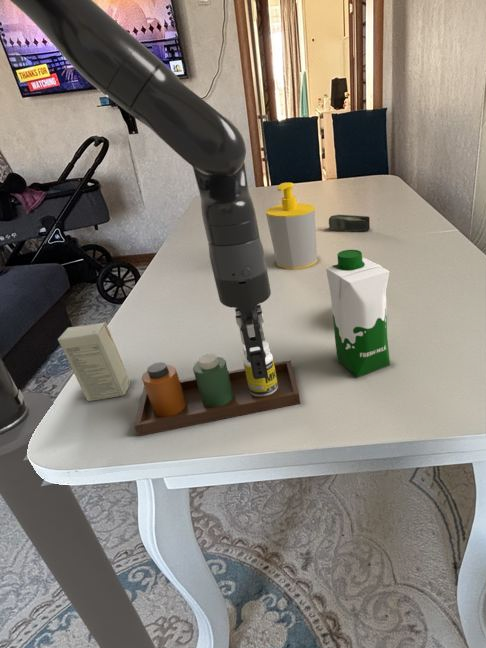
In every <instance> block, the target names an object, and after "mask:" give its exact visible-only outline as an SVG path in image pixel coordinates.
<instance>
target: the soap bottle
mask: <svg viewBox="0 0 486 648" xmlns="http://www.w3.org/2000/svg"><path fill="white" fill-rule="evenodd" d="M294 186H295V184H294V183H293V182H282V183H279V185H278V187H277V191H279V192H281V191H282V192H283V197H281V198H280V200H281V204H278V205H274V206H271V207H269V208H267V209H266V210H265V217H266V220H267V221H266V222H267V225H268V230H269V234H270V240H271V244H272V248H273V252H274V258H275V262H276V266H278V267H279V268H281V269H286V270H298V269H304V268H308V267H311V266H312V265H315V264H316V263H317V262H318V249H317V231H316V213H315V211H316V209H315V205H312V204H311V203H305V202H297V196H294V194H293V188H292V187H294Z"/></svg>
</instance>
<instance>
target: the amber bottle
mask: <svg viewBox="0 0 486 648" xmlns="http://www.w3.org/2000/svg"><path fill="white" fill-rule="evenodd" d="M180 380H181V379H180V378H179V374H178V371H177V368H176V367H175V366H173V365H170V364H167V363H166V362H155V363H152V364H151V365H148V367H147V369H146V371H145V372H144V373H143V374H142V376H141V381H142V384H143V387H145V389H146V392H147V394H148V397H149V400H150V403H151V406H152V408H153V411H154V413H155V415H157V416H159V417H168V416H173V415H175V414H178V413H179V412H181V411H182V410H183V409H184V408H185V407H186V400H185V396H184V393H183V390H182V387H181V383H180Z"/></svg>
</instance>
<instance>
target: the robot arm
mask: <svg viewBox="0 0 486 648" xmlns="http://www.w3.org/2000/svg"><path fill="white" fill-rule="evenodd" d="M9 1H10V2H11V3H12V4H14V6H16V7H17V8H18V9H19V10H20V11H22V12H23V13H24V14H25V15H26V16H27V17H28V18H29V19H30V20H31V22H33V24H35V25H36V27H37V28H38V29H39V30H40V31H41V32H42V33H43V34H44V35H45V36H46V38H47V39H48V40H49V42H51V43H52V44H53V46H54V47H55V48H56V49H57V50H58V52H59V53H60V54H61V55H62V57H64V58H65V60H66V61H67V62H68V63H69V65H71V66H72V67H73V69H75V70H76V71H77V72H78V73H79V74H80V75H81V76H82V77H83V78H84V79H85V80H86V81H87V82H89V83H90V84H91V85H92V86H93V87H94V88H96V89H97V90H98V91H99V92H101V94H103V95H105V97H107V98H108V99H110V101H112V102H114V103H115V104H116V105H118V106H119V107H120V108H121V109H122V110H124V111H125V112H126V113H128V114H129V115H130V116H132V117H133V118H134V119H136V120H138V121H139V122H141V123H142V124H143V125H145V126H146V127H148V129H150V130H151V131H152V132H154V133H155V135H156V136H158V138H160V139H161V140H162V141H163V142H164V143H165V144H166V145H167V146H169V148H170V149H172V150H173V151H174V152H175V153H176V154H177V155H178V156H180V157H181V159H183V160H184V161H185V162H187V163H188V164H189V165H190V166H191V167H192V170H193V175H194V177H195V178H194V179H195V181H196V185H197V188H198V191H199V196H200V209H201V217H202V221H203V226H204V231H205V234H206V240H207V245H208V253H209V259H210V264H211V269H212V273H213V277H214V282H215V287H216V290H217V295H218V300H219V302H220V304H222V305H223V306H225V307H228V308H231V309H232V308H234V311H235V314H234V315H235V323H236V325H237V327H238V329H239V335H240V341H241V343H242V345H243V346H244V345H245V348H246V352H247V360H248V362H250V364H251V368H252V373H253V378H254V379H261V378H266V377H267V376H268V372H267V367H266V362H265V357H266V353H265V351H264V348H263V342H264V341H266V335H265V330H264V329H265V328H264V325H263V324H264V323H265V322H264V321H265V320H264V315H263V310H262V304H263V303H265V302H266V301H267V300H268V299H269V298H270V297H271V293H272V290H271V283H270V279H269V273H268V267H267V262H266V255H265V251H264V246H263V242H262V240H261V236H260V231H259V225H258V220H257V215H256V209H255V205H254V202H253V200H252V196H251V194H250V191H249V185H248V178H247V170H246V164H245V160H246V154H247V147H246V143H245V138H244V137H243V134H242V133H241V131H240V130H239V128H238V127H237V125H235V124H234V122H233V121H232V120H230V119H229V118H228V117H226V116H224V115H223V114H221V113H220V112H219V111H218V110H216V109H215V108H214V107H212V106H211V105H210V104H209V103H208V102H207V101H205V100H204V99H203V98H202V97H200V96H199V95H198V94H197V93H196V92H194V90H192V89H190V88H189V87H188V86H186V85H185V83H183V81H182V80H181V79H180V78H179V76H178V75H177V74H176V73H175V72H174V71H173V70H172V69H171V68H170V67H169V66H168V65H166V63H164V62H163V61H162V60H161V59H160V58H159V57H158V56H157V55H156V54H154V53H153V52H152V51H151V50H150V49H148V47H146V46H145V45H144V44H143V43H142V42H141V41H140V40H138V39H137V38H135V37H134V36H133V34H131V33H130V32H129V31H128V30H126V29H125V28H124V27H123V26H122V25H121V24H119V22H117V21H116V20H115V19H114V18H113V17H111V16H110V15H109V14H108V13H107V12H106V11H105V10H104V9H102V8H101V7H100V6H99V5H98V4H97V3H96V2H95V1H94V0H9ZM253 347H260V350H256V351H250V348H253ZM22 393H23V392H22V391H21V388H20V389H18V387H17V386H16V383H15V382H14V380H13V378H12V376H11V374H10V373H9V370H8V368H7V366H6V365H5V363H4V361H3V359H2V358H1V356H0V435H1V434H3V433H6V432H8V431H10V430H11V429H13V428H15V427H16V426H18V425H19V424H20V423H22V422H23V421H24V420H25V419H26V417H27V416H28V414H29V409H28V407H27V405H26V403H25V402H24V400H23V397H24V396H23V394H22Z"/></svg>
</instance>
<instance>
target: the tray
mask: <svg viewBox="0 0 486 648" xmlns="http://www.w3.org/2000/svg"><path fill="white" fill-rule="evenodd" d="M274 366H275V372H276V378H277V383H278V388H277V390H276V391H275V392H274V393H273V394H271V395H268V396H264V397H257V396H254V395H252V394H251V393H250V391H249V386H248V381H247V377H246V372H245V368H240V369H235V370H228V373H229V377H230V381H231V385H232V389H233V393H234V396H233V399H232V400H231V401H230V402H229V403H227V404H225V405H223V406H219V407H208V406H205V405H204V404H203V402H202V398H201V395H200V391H199V388H198V385H197V381H196V378H195V377H192V378H185V379H179V380H180V383H181V387H182V390H183V393H184V396H185V400H186V407H185V408H184V409H183V410H182V411H181V412H179V413H178V414H175V415H173V416H168V417H159V416H157V415H155V413H154V411H153V408H152V406H151V403H150V400H149V397H148V394H147V392H146V389H145V386H143V389H142V393H141V396H140V400H139V405H138V410H137V414H136V417H135V421H134V429H135V432H136V435H137V436H138V437H140V436H141V437H142V436H147V435H151V434H157V433H162V432H167V431H171V430H175V429H181V428H186V427H192V426H195V425H201V424H205V423H206V424H207V423H211V422H216V421H221V420H226V419H230V418H235V417H239V416H246V415H250V414H256V413H260V412H264V411H271V410H275V409H280V408H284V407H289V406H290V407H291V406H295V405H300V404H301V398H300V392H299V388H298V384H297V380H296V377H295V376H296V375H295V372H294V368H293V364H292V361H291V359H290V360H283V361H278V362H274Z"/></svg>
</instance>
